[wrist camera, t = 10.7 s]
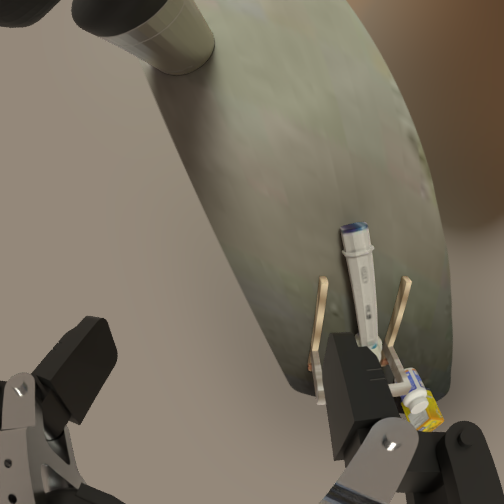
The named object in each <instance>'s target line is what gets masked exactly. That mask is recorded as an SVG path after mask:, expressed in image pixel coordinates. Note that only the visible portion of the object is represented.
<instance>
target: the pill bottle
mask: <svg viewBox="0 0 504 504" xmlns="http://www.w3.org/2000/svg"><path fill="white" fill-rule="evenodd" d="M404 371H405V373H406V375H407V377H408V379H409V381H410V384H411V386H412V387H411V389H410V391H409V393H408V395H402V396H400V397H401V399H402V402H403V404H404V406H406V407H409V409H410V412H411V413H412V414H417V413H420V412H422V411H423V410H425V409H426V408H427V406H428V404H429V403H428V400H427V398H426V396H427V391H426V389H425V387H424V385H423V383H422V381H421V379H420V377H419V375H418V373H417V371H416V370H415V369H414V368H406V369H404ZM394 382H395V383H397V382H396V379H395V380H394Z"/></svg>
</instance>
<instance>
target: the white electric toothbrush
mask: <svg viewBox="0 0 504 504" xmlns="http://www.w3.org/2000/svg"><path fill="white" fill-rule="evenodd" d="M340 232H341V237H342V242H343V247H344V250H342V253H343V255H344V256H345V257H346V262H347V266H348V271H349V277H350V282H351V287H352V293H353V298H354V304H355V310H356V316H357V323H358V330H359V332H358V333H357V334H356V335H355V339H356V342H357V344H358V347H363V346H367V347H368V348H369V349H370V350H371V351H372V352H373V353H374V354H375V355H376V356H377V358H378V360H379V362H380V360H381V351H382V341H381V339H380V338H379V337H378V325H377V303H376V288H375V276H374V265H373V256H372V250H373V249H374V246H372V245H371V242H370V236H369V230H368V225H367V223H365V222H357V223H353V224H348V225H344V226H342V227H340Z"/></svg>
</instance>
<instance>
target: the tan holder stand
mask: <svg viewBox="0 0 504 504" xmlns="http://www.w3.org/2000/svg"><path fill="white" fill-rule="evenodd" d="M411 283H412V281H411V280H410V279H409V278H408V277H407V276H402V278H401V282H400V286H399V290H398V294H397V298H396V302H395V306H394V310H393V313H392V317H391V320H390V324H389V327H388V331H387V334H386V337H385V340H384V343H383V346H382V351H381V360H380V365H381V366H386V365H387V364H389V365H390V368H391V370H392V372H393V375H394V377H395V379H396V382H397V383H395V384H388V385H389V388H390V390H391V393H392V396H393V397H397V396H402V395H408V393H409V391H410V389H411V387H412V386H411V384H410V381H409V379H408V377H407V375H406V373H405V371H404V368H403V366H402V364H401V362H400V360H399V358H398V356H397V354H396V352H395V350H394V348H393V344H394V341H395V338H396V335H397V332H398V329H399V326H400V323H401V319H402V316H403V313H404V309H405V306H406V302H407V299H408V295H409V291H410V287H411ZM327 289H328V281H327V278H326V276H319V285H318V294H317V303H316V311H315V318H314V326H313V333H312V339H311V346H310V353H309V359H308V370H309V371H312V372H313V379H314V386H315V394H316V401H317V405H324V404H326V401H325V394H324V388H323V382H322V370H321V365H320V359H319V354H318V348H319V342H320V336H321V330H322V324H323V317H324V311H325V304H326V297H327Z"/></svg>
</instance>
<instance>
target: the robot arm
mask: <svg viewBox="0 0 504 504" xmlns="http://www.w3.org/2000/svg"><path fill="white" fill-rule="evenodd" d="M59 1H60V0H0V26H1V27H9V28H14V27H15V28H16V27H27V26H30V25H32V24H34V23H36V22H38V21H39V20H40V19H41V18H42V17H44V16H45V15H46V14H47V13H48V12H49V11H50V10H51V9H52V8H53V7H54V6H55V5H56V4H57V3H58V2H59ZM71 11H72V17H73V20H74V21H75V23H76V24H77V25H78V26H79V27H80V28H82V29H83V30H85V31H87V32H89V33H91V34H94V35H96V36H98V37H100V38H102V39H104V40H106V41H108V42H110V43H112V44H114V45H116V46H118V47H120V48H122V49H124V50H125V51H127V52H129V53H131V54H133V55H135V56H136V57H138V58H140V59H141V60H143V61H145V62H147V63H148V64H150V65H152V66H153V67H155V68H157V69H158V70H160V71H162V72H164V73H166V74H170V75H183V74H187V73H190V72H192V71H194V70H196V69H198V68H199V67H201V66H202V65H203V64H204V63H205V62H206V61H207V60H208V59H209V57H210V56H211V54H212V52H213V48H214V36H213V33H212V32H211V30H210V28H209V26H208V24H207V23H206V21H205V19H204V17H203V16H202V14H201V12H200V10H199V9H198V7H197V5H196V4H195V2H194V0H73V2H72V10H71ZM116 362H117V349H116V346H115V343H114V340H113V337H112V334H111V331H110V328H109V325H108V322H107V321H106V319H104V318H99V317H93V316H86V317H85V318H84V319H83V320H82V321H81V322H80V323H79V324H78V325H77V326H76V327H75V328H73V329H72V330H70V331H68V332H67V333H66V334H65V335H64V336H63V337H62V338H61V339H60V341H59V343H57V344H56V345H55V346H54V347H53V350H51V351H50V352H49V353H48V354H47V355H46V357H45V358H44V359H43V360H42V361H41V363H40V364H39V365H38V366H37V367H36V369H35V370H34V371H33V372H32V373H31V374H29V373H18V374H16V375H14V376H12V377H11V378H10V379H9V380H8V381H6V382H5V381H0V504H125V503H123V502H121V501H120V500H119V499H117V498H115V497H114V496H112V495H110V494H107V493H104V492H102V491H100V490H97V489H95V488H93V487H90V486H88V485H86V483H85V481H84V479H83V478H82V477H81V475H80V473H79V471H78V469H77V466H76V461H75V457H74V453H73V448H72V443H71V438H70V433H69V429H68V427H67V425H66V424H67V423H68V421H71V422H73V423H76V424H78V425H80V424H81V423H82V421H83V419H84V417H85V415H86V414H87V412H88V410H89V408H90V407H91V405H92V403H93V401H94V400H95V398H96V396H97V395H98V393H99V391H100V389H101V388H102V386H103V384H104V383H105V381H106V379H107V378H108V376H109V374H110V373H111V371H112V369H113V368H114V366H115V364H116ZM381 368H382V367H381V365H380V362H379V360H378V358H377V356H376V355H375V354H374V353H373V352H372V351H371V350H370V349H369V348H368V347H367V346H363V347H358V344H357V342H356V339H355V336H354V334H353V333H352V332H341V333H330V334H329V338H328V343H327V348H326V353H325V358H324V363H323V368H322V382H323V388H324V394H325V401H326V407H327V413H328V420H329V427H330V434H331V442H332V448H333V457H334V461H336V460H344V461H345V468H346V469H345V470H344V472H343V473H342V475H341V476H340V477H339V479H338V480H337V482H336V483H335V484H334V486H333V487H332V488H331V489H330V491H329V492H328V493H327V494H326V496H325V497H324V498H323V499H322V501H321V502H320V503H319V504H389V503H390V501H391V499H392V498H393V496H394V494H395V492H401V493H405V494H406V500H407V504H504V494H503V490H502V487H501V483H500V480H499V477H498V474H497V470H496V467H495V464H494V461H493V458H492V456H491V453H490V450H489V448H488V445H487V443H486V440H485V437H484V435H483V433H482V431H481V429H480V428H479V427H478V426H477V425H475V424H474V423H472V422H469V421H460V422H457V423H455V424H453V425H452V426H451V427H450V428H449V429H448V430H447V431H446V432H423V431H418V430H416V428H415V427H414V426H413V425H412V424H411V423H410V422H408V421H407V420H405V419H402V418H401V417H400V415H399V412H398V409H397V407H396V404H395V401H394V398H393V396H392V393H391V390H390V388H389V385H388V383H387V380H385V375H384V372H383V370H381Z"/></svg>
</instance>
